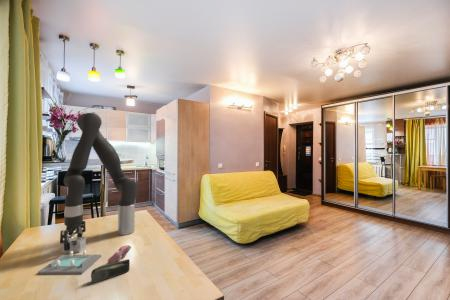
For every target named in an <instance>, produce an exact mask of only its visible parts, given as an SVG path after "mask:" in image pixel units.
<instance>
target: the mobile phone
mask: <svg viewBox="0 0 450 300" xmlns="http://www.w3.org/2000/svg"><path fill="white" fill-rule="evenodd" d="M129 271H130V259H129V258H128V259H123V260H120V261H115V262H114V263H111V264H109V263H107V264H103V265H100V266H98V267H95V268H94V269H92V271H91V273H90V278H91V280H90V281H88V282H86V285H91V284H93V283H96V282H100V281H103V280H107V279H109V278H114V277H117V276H120V275H122V274H123V275H124V274H126V273H128V272H129Z"/></svg>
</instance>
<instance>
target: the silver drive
mask: <svg viewBox="0 0 450 300" xmlns="http://www.w3.org/2000/svg"><path fill="white" fill-rule="evenodd" d="M68 239H69V238H67V240H68ZM63 241H64V239H63ZM86 248H87V237H86V236H82V237H77V236H73V238H71V240H70V250H68V251H65V250H64V243H61V253H63V254H64V253H66V254H67V253H69V254H70V251H73V254H74V253H75V254H77V253H79V254H80V253H81V252H82V253H83V251H85V250H86Z"/></svg>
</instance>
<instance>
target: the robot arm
mask: <svg viewBox="0 0 450 300" xmlns="http://www.w3.org/2000/svg"><path fill="white" fill-rule="evenodd" d="M76 123H77V126H78V128H79V129H80V131H81V135H80V138H79V141H78V143H77V144H76V147H75V148H74V150H73V152H72V155H71V159H70V163H69V167H68V168H67V170H66V172H65V173H64V174H65V175H64V178H63V185H64V186H65V187H66V188H67V194H66V196H65V197H64V198H65V199H64V216H63V217H64V218H63V219H64V221H63V222H64V226H65V227H66V228H65V229H64V230H60V236H59V243H60V244H62V243H64V250H65V251H68V250H70V240H71V238H73V237H75V236H74V235H76V237H83V235H84V233H85V232H86V230H87V229H86V220H84V204H83V203H84V202H83V201H84V199H83V195H84V191H85V186H86V181H85V177H84V176H82V174H83V171H84V170H86V168H87V167H88V162H89V159H90V154H91V152H92V149H93V150H94V151H95V153H96V155H97V158H98V159H99V160H100V162H101V164H102V165H103V166H104V169H106V171H107V173H108V175H109V176H110V178H111V181H113V184H114V187H115V189H116V190H117V191H118V192H119V193H121V197H120V199H118V202H117V234H118V235H120V236H121V235H122V236H124V235H125V236H126V235H127V236H128V235H131V234H133V233H134V232H135V231H136V230H135V228H136V225H135V222H136V221H135V219H136V218H135V217H136V216H135V215H136V214H135V213H136V212H135V211H136V209H135V207H136V203H135V202H136V200H137V190H138V189H137V182H136V180H135V179H134V178H129V177H127V176H126V174H125V173H124V171H123V170H122V166H121V164H122V163H121V159H120V156H119V154H118V152H117V150H116V149H115V147H114V146H113V145H112V144H111V143H110V142H109V141H108V140H107V139H106V138H105V137H104V136H103V134H102V132H101V131H100V129H101V126H102V119H101V117H100V116H99V114H97V113H94V112H87V113H83V114H80V115H79V116H77V119H76ZM130 233H131V234H130ZM67 238H69V239H68V240H67ZM63 240H64V241H63Z"/></svg>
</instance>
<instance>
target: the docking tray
mask: <svg viewBox="0 0 450 300" xmlns="http://www.w3.org/2000/svg"><path fill="white" fill-rule="evenodd" d="M100 258H102V254H87V250H83V251H82V254H74V253H73V251H70V253H69V254H61V255H60V256H58V257H57V258H56V259H54V260H53V261H51V262H50V263H49V264H47V265H45V266H44V267H42V268H41V269H40V270H38V271H37V275H72V274H73V275H83V274H84V273H85V272H86V271H87V270H88V269H90V268H91V266H93V265H94V264H95V263H96V262H97V261H98V260H100Z"/></svg>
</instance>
